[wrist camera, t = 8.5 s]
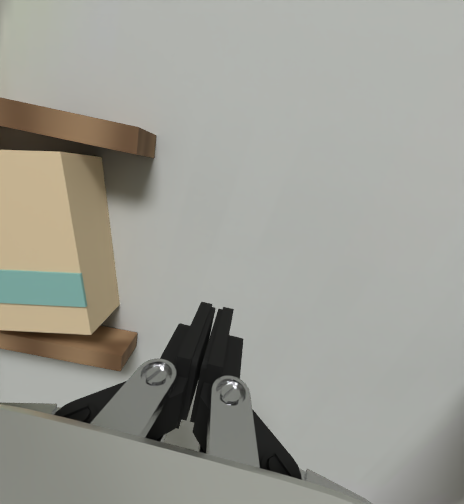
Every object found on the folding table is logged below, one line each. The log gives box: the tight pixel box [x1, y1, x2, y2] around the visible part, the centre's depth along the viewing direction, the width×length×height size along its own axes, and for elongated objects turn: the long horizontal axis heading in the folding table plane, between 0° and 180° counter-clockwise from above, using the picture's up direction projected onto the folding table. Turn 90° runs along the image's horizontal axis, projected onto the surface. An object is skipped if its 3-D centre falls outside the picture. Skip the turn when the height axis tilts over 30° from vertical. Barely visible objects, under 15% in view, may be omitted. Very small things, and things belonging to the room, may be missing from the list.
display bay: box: [0, 98, 156, 371], centre depth 18 cm, size 14×18×3 cm
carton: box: [0, 150, 120, 335], centre depth 17 cm, size 8×12×5 cm
